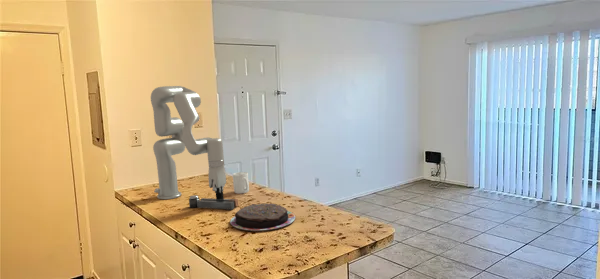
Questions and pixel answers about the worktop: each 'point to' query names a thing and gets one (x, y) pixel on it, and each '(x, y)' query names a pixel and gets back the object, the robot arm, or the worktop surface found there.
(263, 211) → the chocolate cake
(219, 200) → the tong arm
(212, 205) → the base
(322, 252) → the worktop surface
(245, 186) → the cup
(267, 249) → the worktop surface
